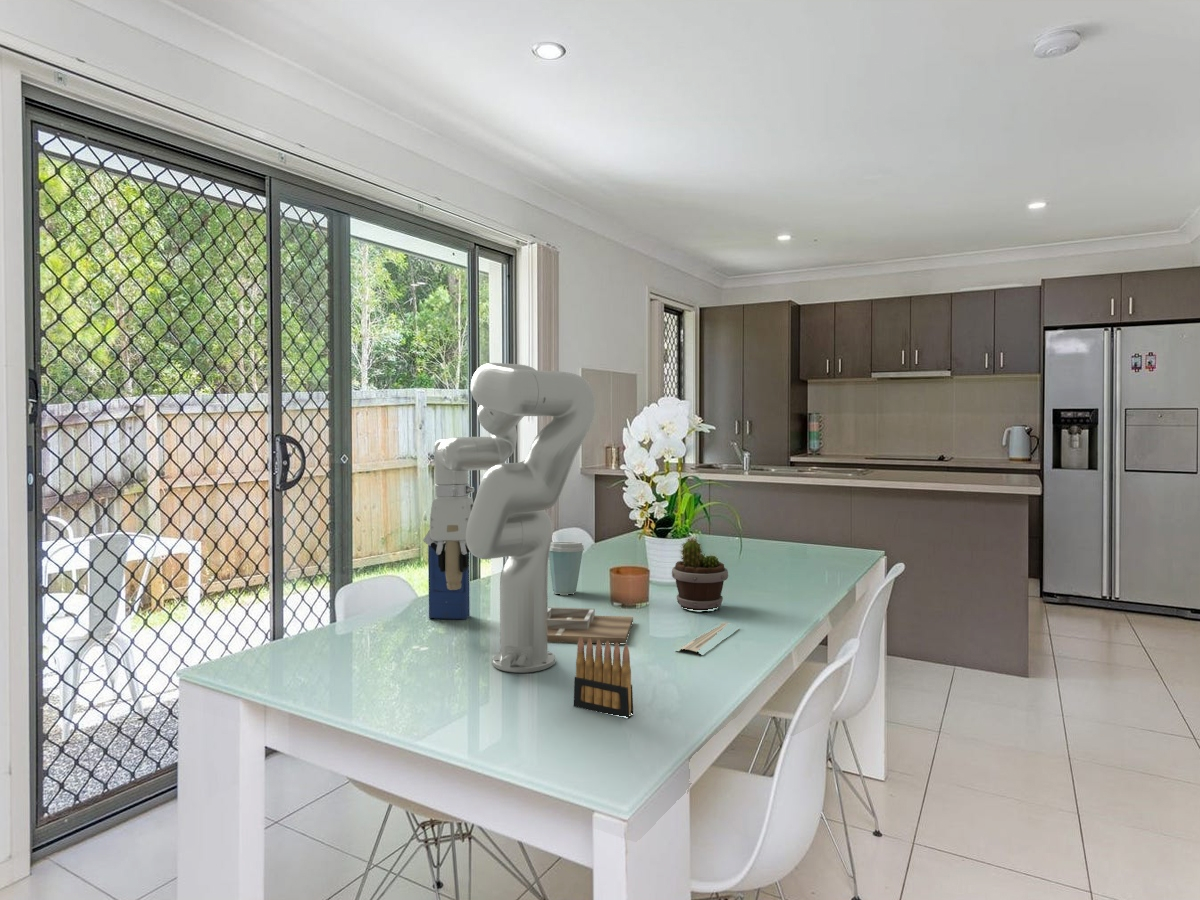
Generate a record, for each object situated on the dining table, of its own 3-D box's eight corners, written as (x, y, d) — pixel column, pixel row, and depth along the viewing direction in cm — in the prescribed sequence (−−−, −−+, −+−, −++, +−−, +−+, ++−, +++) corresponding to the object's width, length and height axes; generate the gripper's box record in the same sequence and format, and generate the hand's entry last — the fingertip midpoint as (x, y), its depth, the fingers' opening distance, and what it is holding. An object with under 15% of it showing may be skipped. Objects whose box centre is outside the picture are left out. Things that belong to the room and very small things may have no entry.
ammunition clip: (633, 715, 120) (633, 643, 120) (628, 719, 119) (628, 646, 118) (579, 702, 126) (579, 634, 125) (573, 706, 124) (573, 636, 124)
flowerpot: (699, 598, 202) (699, 526, 201) (740, 609, 189) (740, 533, 189) (659, 606, 193) (659, 531, 192) (699, 618, 181) (700, 538, 180)
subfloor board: (625, 645, 159) (625, 629, 159) (527, 640, 162) (527, 625, 162) (632, 623, 177) (632, 608, 177) (544, 619, 180) (544, 605, 180)
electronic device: (470, 615, 184) (470, 536, 183) (464, 620, 179) (464, 539, 178) (434, 614, 185) (433, 536, 184) (427, 619, 180) (426, 539, 179)
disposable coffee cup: (543, 590, 212) (543, 539, 211) (578, 588, 215) (578, 537, 215) (551, 598, 202) (551, 544, 201) (589, 595, 205) (589, 543, 204)
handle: (450, 586, 172) (449, 522, 172) (471, 588, 169) (470, 523, 169) (436, 589, 168) (434, 524, 168) (457, 592, 165) (456, 525, 165)
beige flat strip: (701, 659, 151) (701, 651, 151) (670, 654, 155) (670, 646, 154) (739, 631, 171) (739, 624, 171) (711, 627, 175) (711, 620, 175)
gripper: (491, 490, 171) (493, 568, 171) (423, 491, 173) (425, 568, 173) (482, 492, 163) (483, 574, 163) (411, 493, 166) (412, 573, 166)
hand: (453, 570), depth 168 cm, fingers closed on handle, 4 cm apart
